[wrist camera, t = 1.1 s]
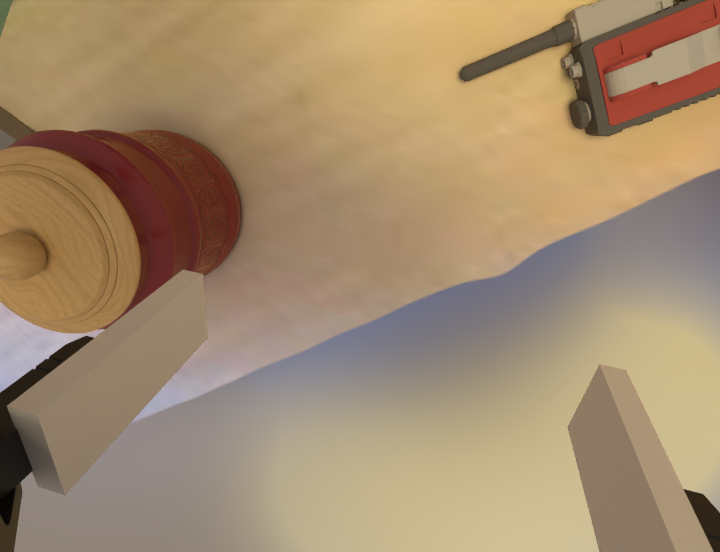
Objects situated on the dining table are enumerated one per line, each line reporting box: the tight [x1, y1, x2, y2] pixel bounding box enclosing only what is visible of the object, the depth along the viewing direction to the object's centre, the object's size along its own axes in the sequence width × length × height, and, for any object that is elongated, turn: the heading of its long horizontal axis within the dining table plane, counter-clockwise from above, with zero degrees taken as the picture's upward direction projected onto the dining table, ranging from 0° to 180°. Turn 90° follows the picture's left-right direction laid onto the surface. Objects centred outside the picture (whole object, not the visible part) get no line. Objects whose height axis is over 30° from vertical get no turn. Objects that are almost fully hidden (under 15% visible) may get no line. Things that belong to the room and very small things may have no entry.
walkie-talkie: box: [460, 0, 720, 136], centre depth 29 cm, size 9×4×20 cm
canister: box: [0, 130, 241, 333], centre depth 30 cm, size 13×13×18 cm
